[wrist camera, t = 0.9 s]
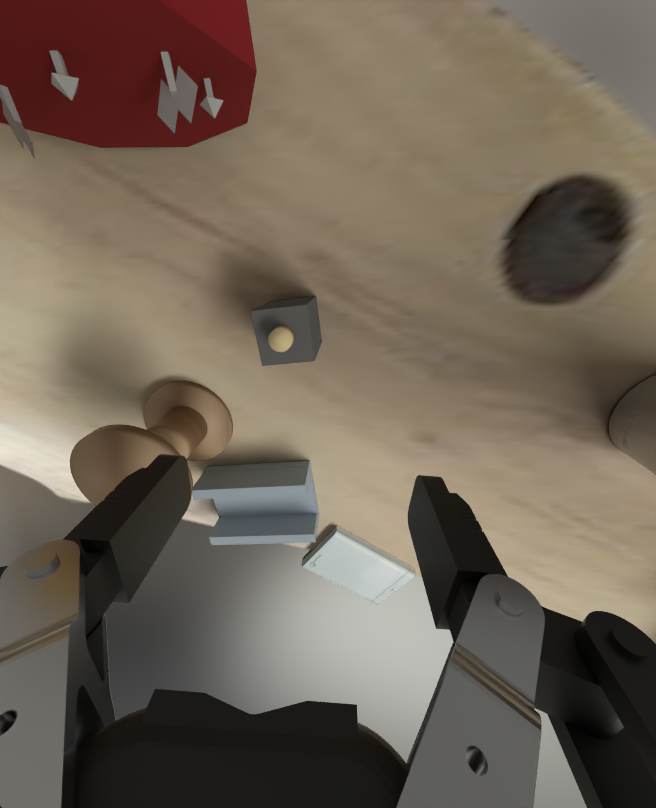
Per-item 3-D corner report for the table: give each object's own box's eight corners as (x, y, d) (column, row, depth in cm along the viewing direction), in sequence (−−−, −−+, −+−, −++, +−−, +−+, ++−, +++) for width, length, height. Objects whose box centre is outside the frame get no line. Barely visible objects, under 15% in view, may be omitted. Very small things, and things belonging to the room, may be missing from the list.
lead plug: (316, 295, 26) (304, 307, 20) (321, 341, 28) (312, 365, 21) (271, 301, 27) (245, 313, 20) (279, 345, 28) (257, 371, 22)
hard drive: (300, 567, 40) (376, 607, 42) (336, 531, 36) (416, 576, 39) (302, 556, 41) (375, 595, 43) (336, 521, 38) (414, 564, 40)
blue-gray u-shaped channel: (309, 460, 33) (304, 484, 30) (319, 515, 37) (315, 542, 33) (207, 466, 35) (190, 490, 31) (225, 518, 38) (211, 545, 34)
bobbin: (220, 377, 30) (163, 427, 21) (241, 453, 34) (201, 523, 25) (136, 385, 31) (47, 435, 22) (166, 457, 35) (101, 526, 26)
